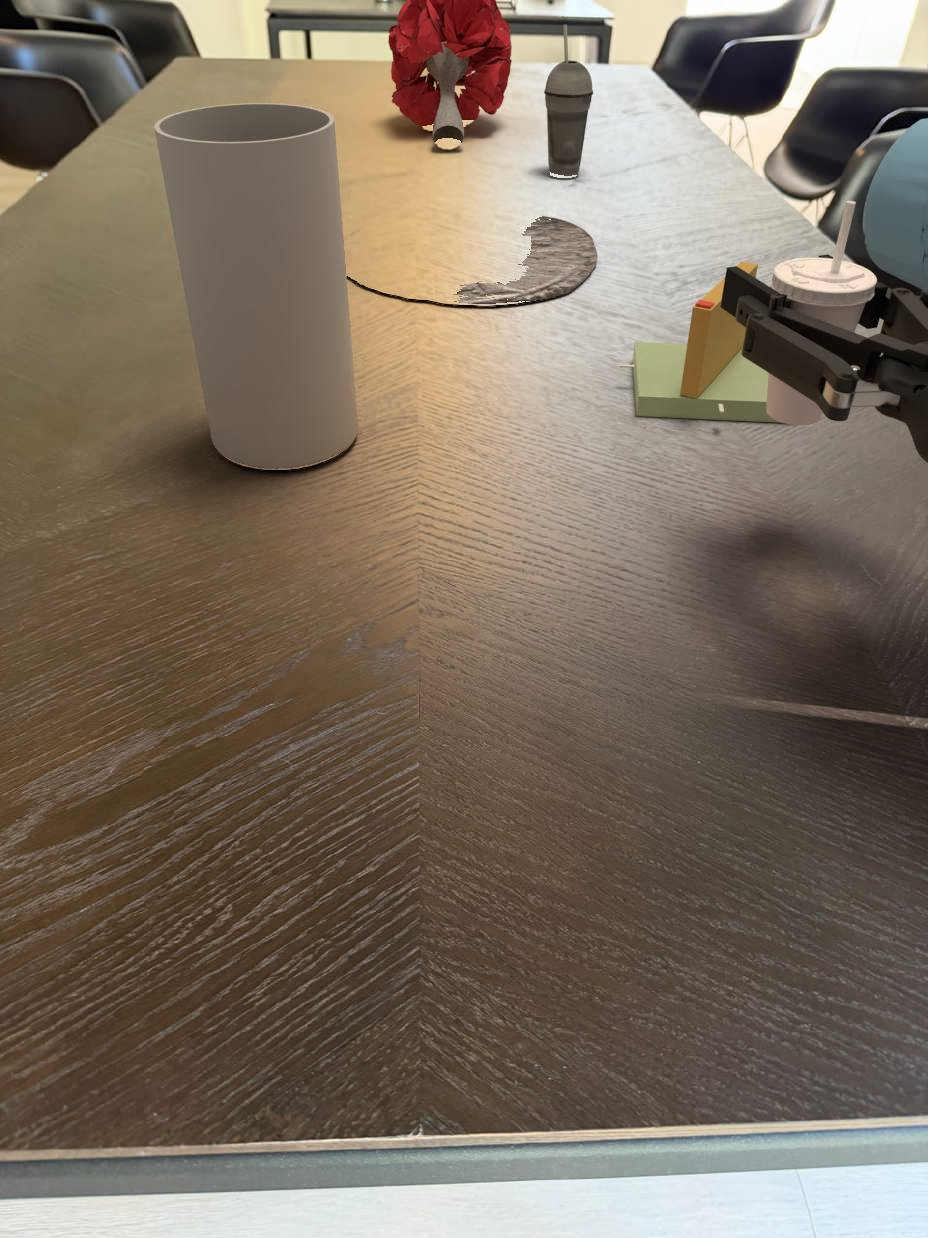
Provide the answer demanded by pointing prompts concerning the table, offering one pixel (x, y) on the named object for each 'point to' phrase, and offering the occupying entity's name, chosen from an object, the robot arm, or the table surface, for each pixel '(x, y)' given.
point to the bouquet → (449, 62)
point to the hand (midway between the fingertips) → (774, 280)
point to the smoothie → (819, 311)
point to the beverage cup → (567, 114)
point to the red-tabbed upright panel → (711, 339)
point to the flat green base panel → (724, 398)
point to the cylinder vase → (264, 277)
